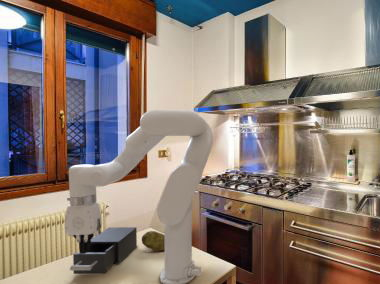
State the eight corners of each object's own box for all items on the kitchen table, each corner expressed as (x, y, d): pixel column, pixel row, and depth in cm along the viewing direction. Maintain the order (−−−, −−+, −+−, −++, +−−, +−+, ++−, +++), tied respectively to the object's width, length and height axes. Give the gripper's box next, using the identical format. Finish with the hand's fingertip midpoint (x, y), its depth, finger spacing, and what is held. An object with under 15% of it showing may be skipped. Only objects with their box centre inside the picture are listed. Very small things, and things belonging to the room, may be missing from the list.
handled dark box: (96, 282, 78) (96, 261, 78) (62, 282, 77) (62, 261, 77) (125, 254, 96) (124, 237, 96) (97, 254, 96) (97, 237, 96)
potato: (165, 255, 97) (165, 236, 97) (138, 252, 99) (138, 234, 99) (175, 246, 106) (175, 229, 105) (149, 244, 108) (149, 227, 107)
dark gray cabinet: (118, 264, 90) (118, 241, 90) (87, 264, 90) (86, 241, 90) (136, 246, 105) (136, 227, 105) (109, 246, 105) (109, 227, 104)
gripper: (52, 203, 75) (54, 258, 76) (97, 202, 76) (99, 257, 76) (70, 197, 83) (72, 247, 83) (111, 196, 83) (113, 246, 83)
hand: (85, 251), depth 80 cm, fingers closed
